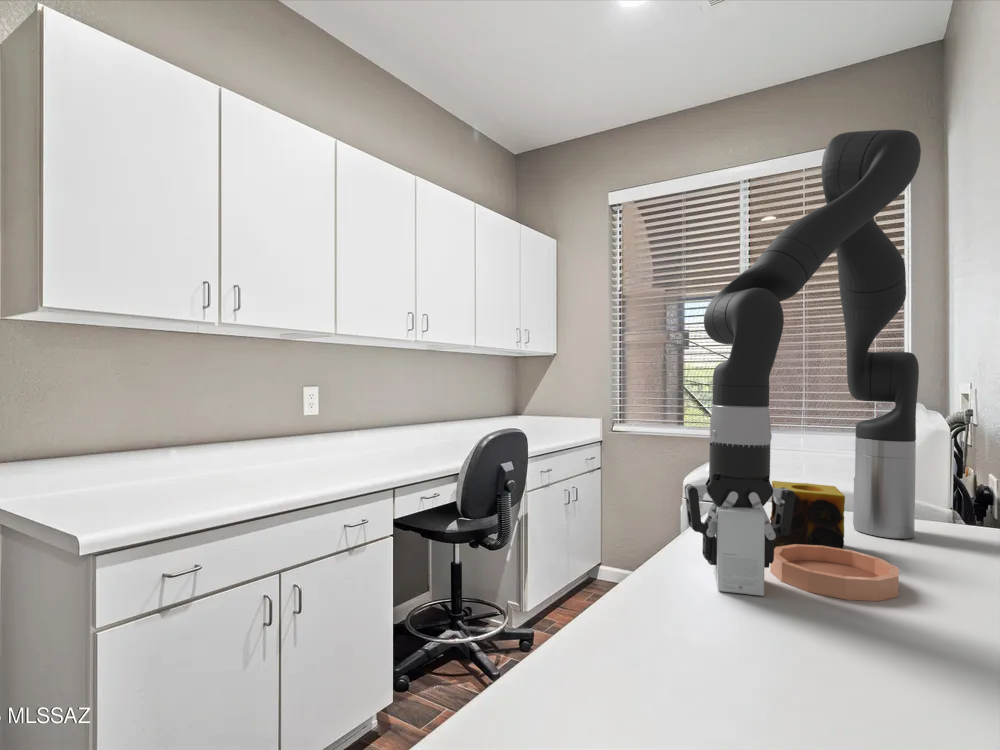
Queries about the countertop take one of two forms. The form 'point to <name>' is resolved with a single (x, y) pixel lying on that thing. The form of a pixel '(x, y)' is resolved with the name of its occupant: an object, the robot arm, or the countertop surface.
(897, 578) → the round tray
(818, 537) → the yellow and black cube
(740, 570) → the small box
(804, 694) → the countertop surface
